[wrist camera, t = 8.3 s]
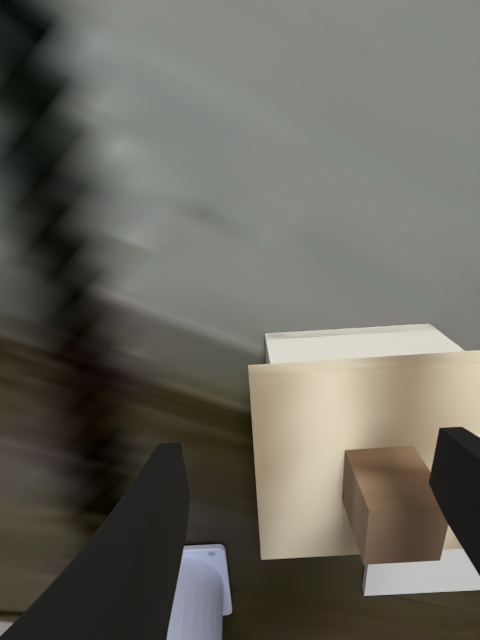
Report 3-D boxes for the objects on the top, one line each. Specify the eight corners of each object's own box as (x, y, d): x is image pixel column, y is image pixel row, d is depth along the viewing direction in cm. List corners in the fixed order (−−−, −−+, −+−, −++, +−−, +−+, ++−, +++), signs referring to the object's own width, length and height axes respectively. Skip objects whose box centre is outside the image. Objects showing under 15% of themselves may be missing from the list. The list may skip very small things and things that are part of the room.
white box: (269, 459, 23) (277, 522, 18) (264, 333, 19) (272, 377, 15) (408, 451, 22) (447, 513, 18) (429, 323, 19) (483, 364, 15)
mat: (362, 588, 28) (364, 595, 27) (376, 464, 23) (379, 470, 22) (525, 580, 28) (530, 587, 27) (576, 453, 23) (583, 459, 22)
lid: (259, 541, 19) (265, 629, 15) (248, 365, 15) (252, 428, 11) (463, 529, 19) (518, 615, 15) (509, 348, 15) (602, 406, 11)
